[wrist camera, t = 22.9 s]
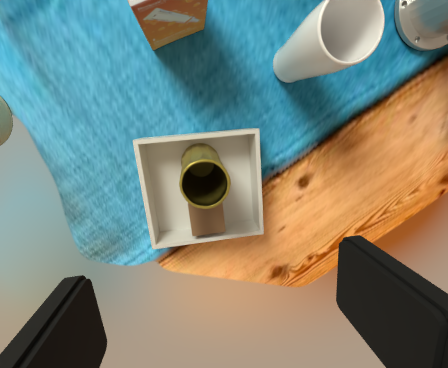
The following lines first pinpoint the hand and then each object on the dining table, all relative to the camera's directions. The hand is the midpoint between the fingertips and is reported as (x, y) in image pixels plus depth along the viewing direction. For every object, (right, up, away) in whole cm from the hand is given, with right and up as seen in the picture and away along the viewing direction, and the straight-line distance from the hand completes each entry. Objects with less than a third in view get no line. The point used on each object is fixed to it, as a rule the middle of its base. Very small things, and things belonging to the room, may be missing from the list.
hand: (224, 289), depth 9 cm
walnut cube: (-3, 0, +30) cm, 31 cm away
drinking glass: (+10, +22, +27) cm, 37 cm away
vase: (-4, +7, +29) cm, 30 cm away
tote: (-4, +4, +30) cm, 31 cm away
